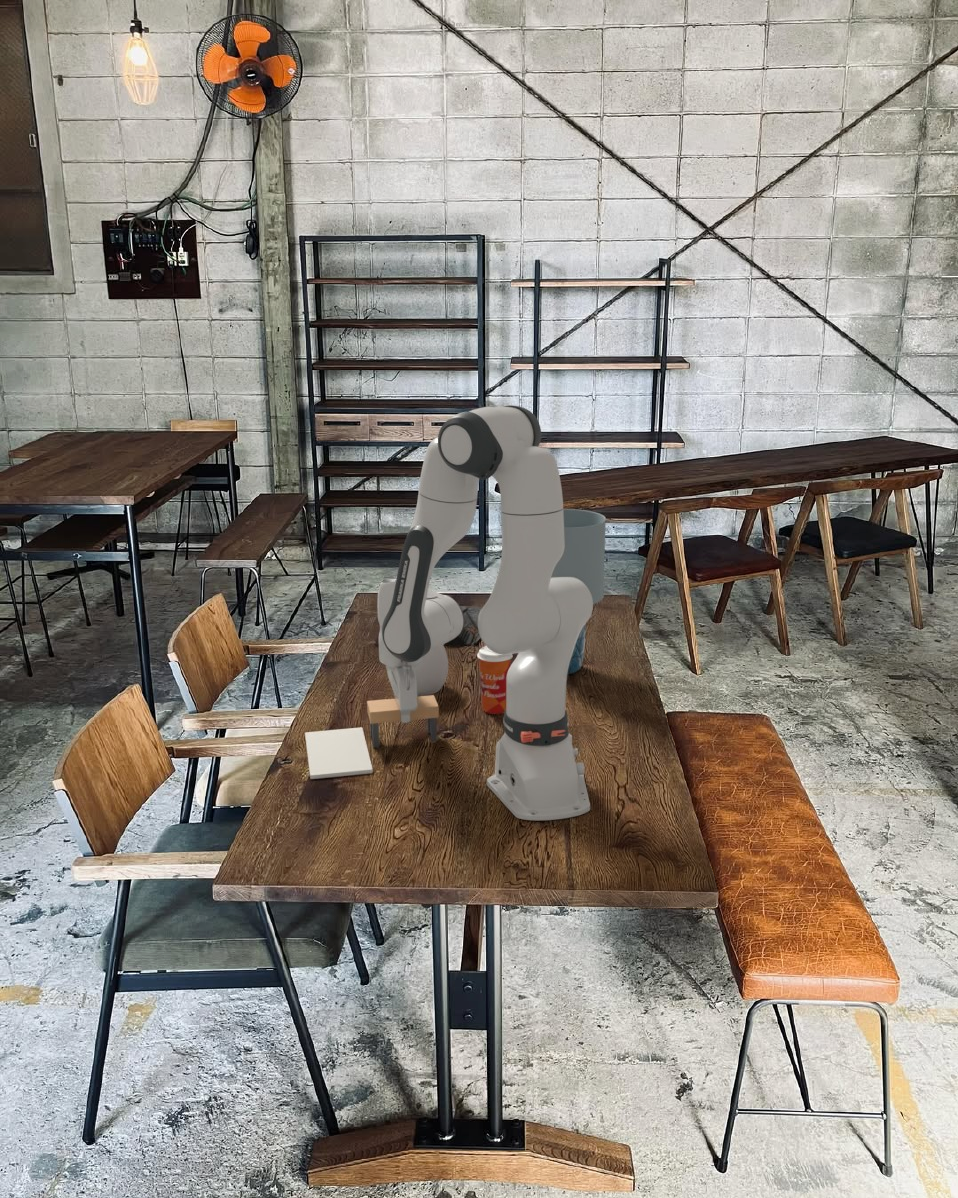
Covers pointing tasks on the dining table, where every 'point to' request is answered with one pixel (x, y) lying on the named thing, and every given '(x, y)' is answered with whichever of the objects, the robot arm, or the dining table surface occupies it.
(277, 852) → the dining table surface
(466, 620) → the architectural model
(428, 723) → the bench model
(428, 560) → the robot arm
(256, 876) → the dining table surface
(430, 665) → the decorative egg
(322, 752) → the felt mat
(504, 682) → the paper cup
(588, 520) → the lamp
